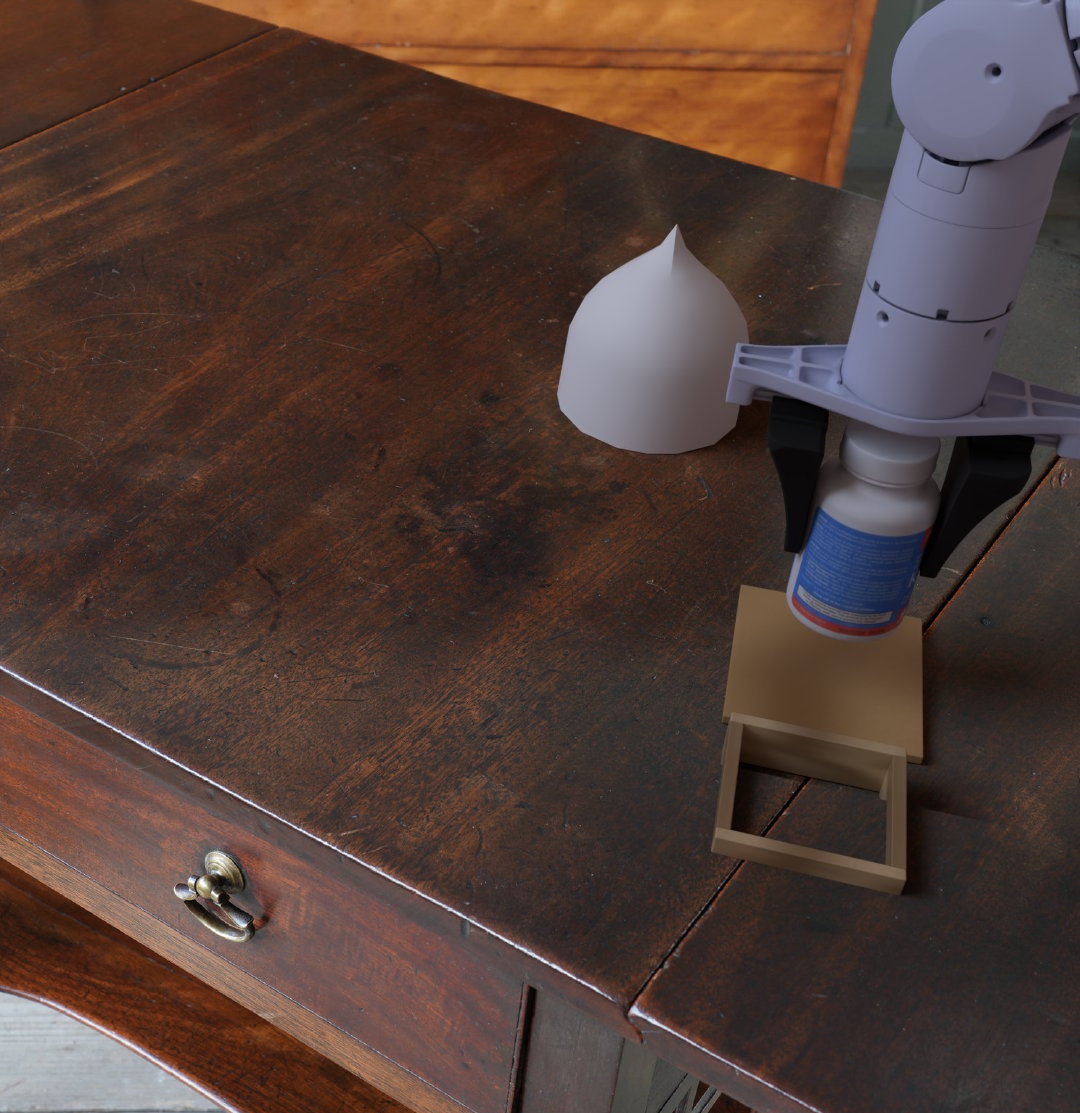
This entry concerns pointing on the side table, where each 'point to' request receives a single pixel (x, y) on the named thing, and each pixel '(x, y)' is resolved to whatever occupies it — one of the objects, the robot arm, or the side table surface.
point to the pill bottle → (865, 534)
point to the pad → (825, 675)
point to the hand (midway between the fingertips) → (860, 552)
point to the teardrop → (653, 355)
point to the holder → (819, 760)
